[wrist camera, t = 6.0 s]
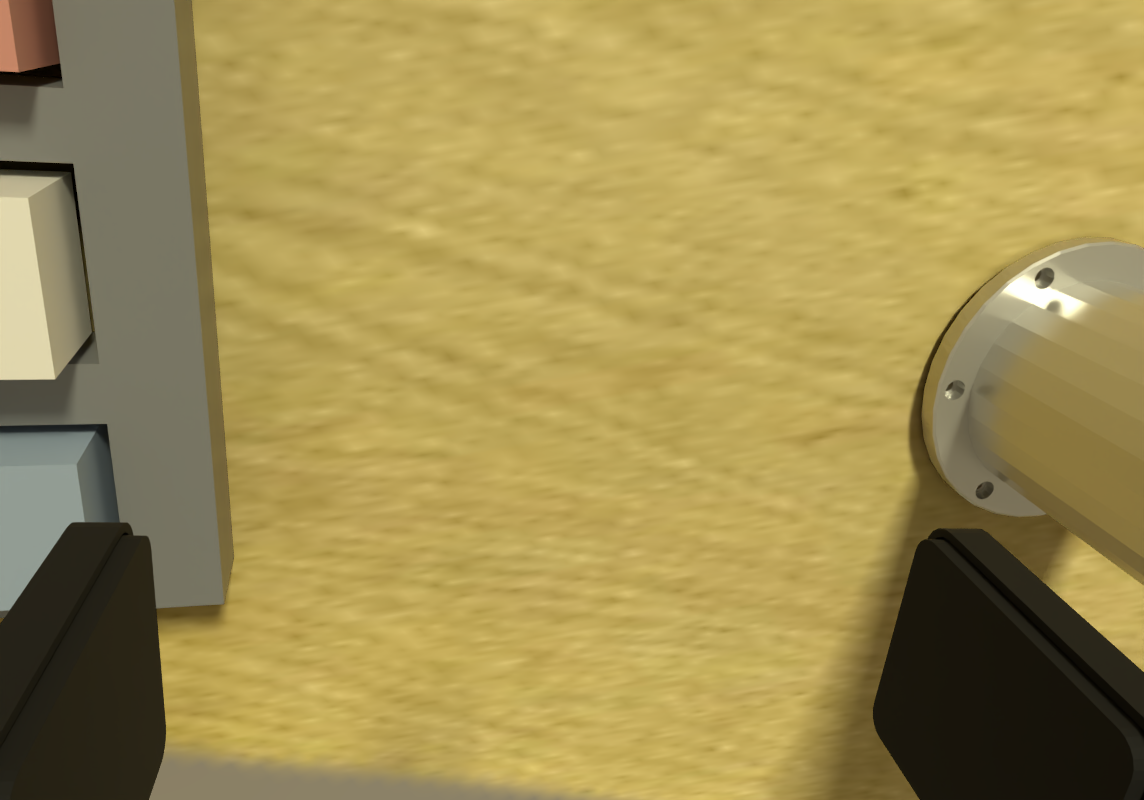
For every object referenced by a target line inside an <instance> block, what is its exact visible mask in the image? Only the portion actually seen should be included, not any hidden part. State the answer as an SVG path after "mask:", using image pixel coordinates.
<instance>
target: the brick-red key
mask: <svg viewBox="0 0 1144 800" xmlns="http://www.w3.org/2000/svg"><path fill="white" fill-rule="evenodd" d="M55 64H60V57H59V49H58V41H57V34H56V26H55V18H54V10H53V3H52V0H0V71H7V72H22V71H27V70H31V69H36V68H41V67H46V66H50V65H55Z"/></svg>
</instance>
